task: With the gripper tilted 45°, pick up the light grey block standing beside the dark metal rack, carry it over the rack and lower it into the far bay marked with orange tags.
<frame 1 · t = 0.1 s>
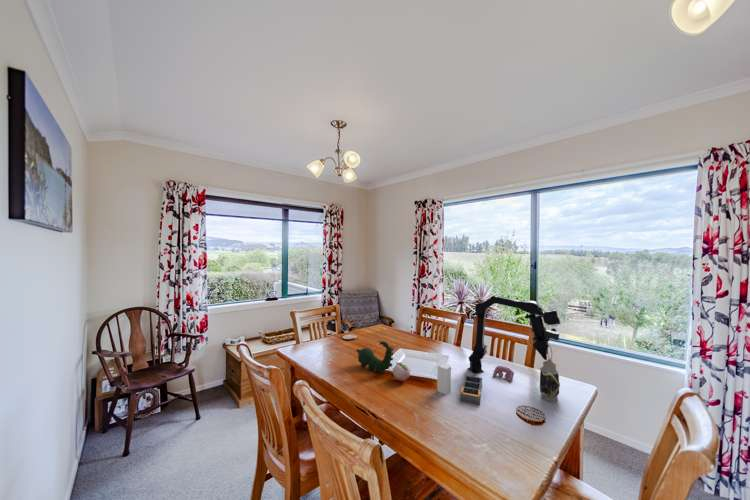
hand: (546, 356, 142), 15 cm above the table, tool pointing down, fingers open, 9 cm apart
toy figurine: (373, 369, 163), on the table
lantern: (549, 398, 132), on the table, touching gripper
decorative fruit: (400, 381, 148), on the table
video game controller: (503, 378, 152), on the table
rack: (471, 392, 137), on the table
light grey block: (444, 391, 138), on the table
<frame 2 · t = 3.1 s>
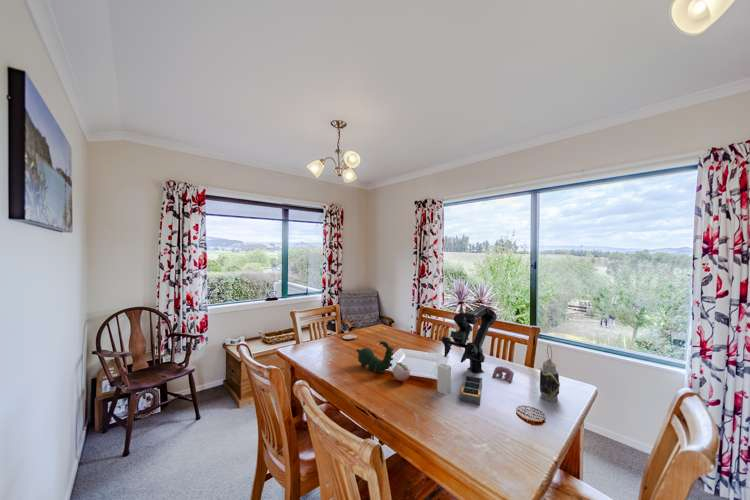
hand: (452, 359, 143), 14 cm above the table, tool tilted 45°, fingers open, 9 cm apart
lantern: (549, 398, 132), on the table
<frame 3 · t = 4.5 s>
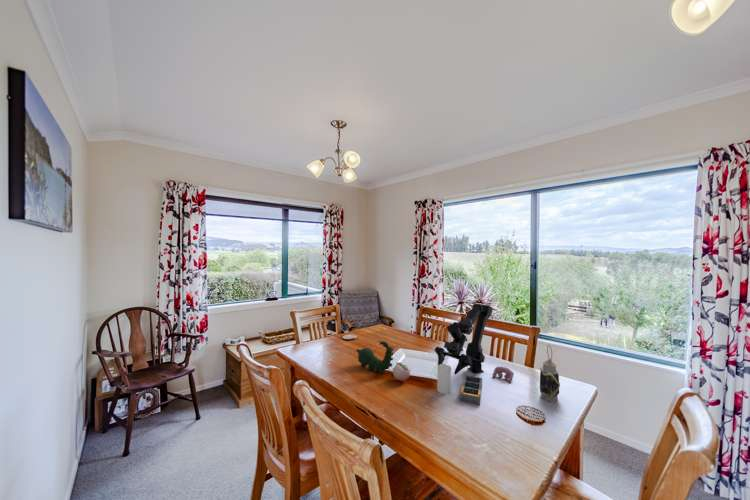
hand: (446, 371, 139), 9 cm above the table, tool tilted 45°, fingers open, 9 cm apart
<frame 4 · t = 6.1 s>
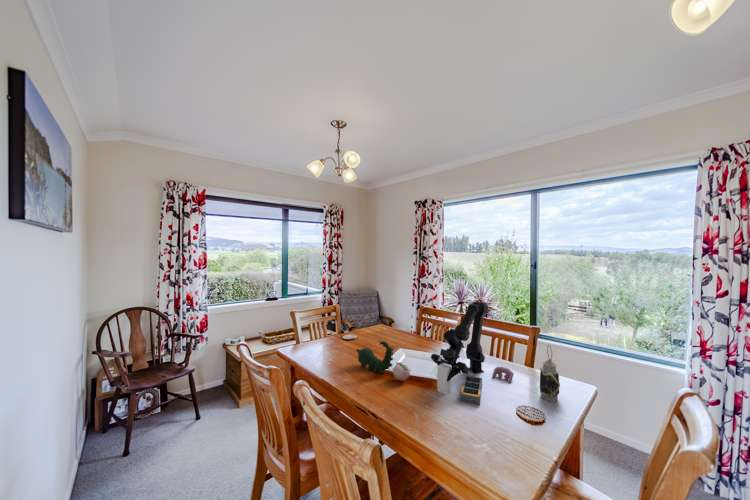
hand: (442, 379, 137), 7 cm above the table, tool tilted 45°, fingers closed on light grey block, 5 cm apart
light grey block: (444, 391, 138), on the table, touching gripper
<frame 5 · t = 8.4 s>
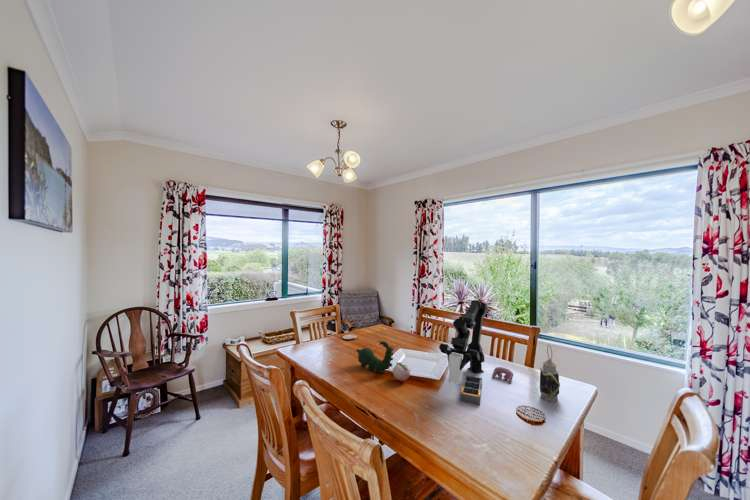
hand: (454, 368, 133), 13 cm above the table, tool tilted 45°, fingers closed on light grey block, 5 cm apart
light grey block: (455, 381, 134), point 7 cm above the table, touching gripper
when the fingers open (8 cm above the table, at t = 10.7 s): light grey block stays where it is, resting on rack.
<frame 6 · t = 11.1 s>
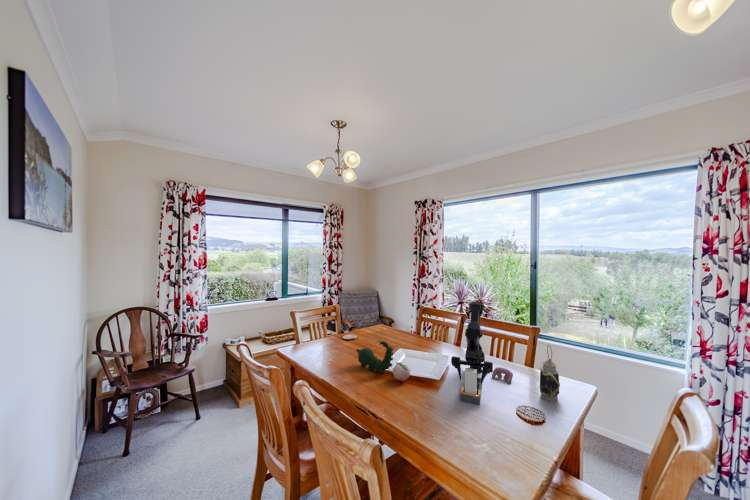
hand: (470, 382, 130), 9 cm above the table, tool tilted 45°, fingers open, 9 cm apart
light grey block: (470, 396, 131), point 1 cm above the table, touching rack
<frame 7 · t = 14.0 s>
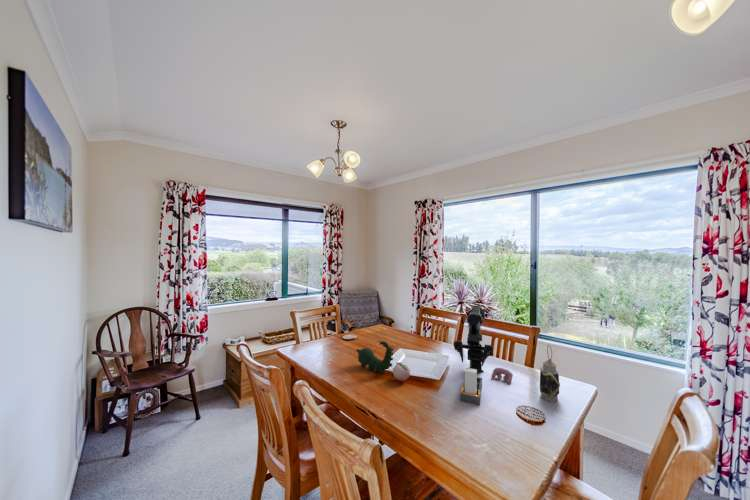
hand: (472, 363, 138), 13 cm above the table, tool tilted 45°, fingers open, 9 cm apart
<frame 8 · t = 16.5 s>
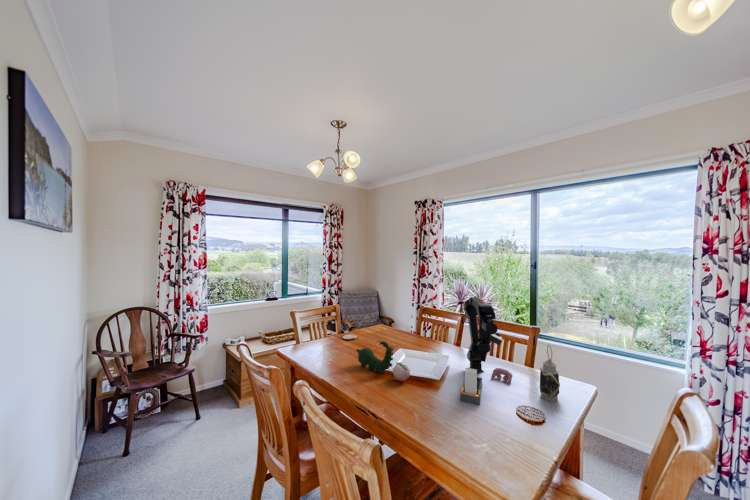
hand: (484, 358, 146), 13 cm above the table, tool pointing down, fingers open, 9 cm apart
at the end: light grey block 0.0 cm from the target spot on the rack, point 1.0 cm above the rack's base; light grey block tilted 0°; the gripper is holding nothing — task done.
